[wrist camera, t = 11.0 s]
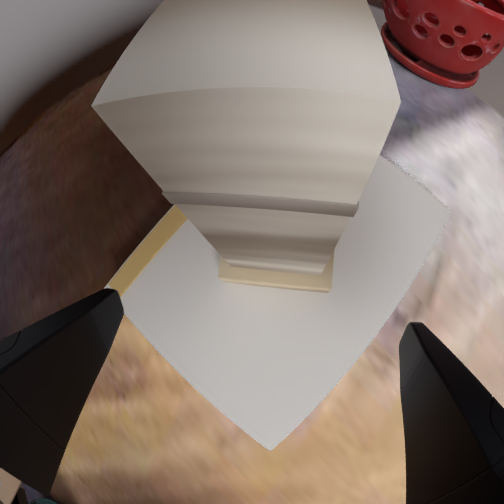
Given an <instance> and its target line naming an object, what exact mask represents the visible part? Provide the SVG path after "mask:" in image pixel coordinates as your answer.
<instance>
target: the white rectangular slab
mask: <svg viewBox="0 0 504 504" xmlns="http://www.w3.org/2000/svg"><path fill="white" fill-rule="evenodd" d="M451 212H452V211H451V210H450V209H449V208H448V207H447V206H445V205H444V204H443V203H442V202H441V201H440V200H438V199H437V198H436V197H435V196H434V195H432V194H431V193H430V192H429V191H428V190H426V189H425V188H424V187H423V186H421V185H420V184H419V183H418V182H416V181H415V180H414V179H412V178H411V177H410V176H409V175H407V174H406V173H405V172H403V171H402V170H401V169H399V168H398V167H397V166H395V165H394V164H392V163H391V162H390V161H388V160H387V159H385V158H384V157H383V156H381V155H379V157H378V159H377V161H376V164H375V166H374V168H373V170H372V173H371V175H370V177H369V179H368V181H367V184H366V186H365V188H364V190H363V192H362V194H361V196H360V199H359V208H358V210H357V212H356V214H355V215H354V217H350V219H349V221H348V223H347V225H346V227H345V229H344V231H343V233H342V235H341V237H340V239H339V241H338V243H337V245H336V247H335V249H334V261H333V276H332V288H331V290H330V291H329V292H328V293H323V292H312V291H302V290H292V289H282V288H272V287H263V286H254V285H245V284H237V283H228V282H224V281H222V280H221V279H220V278H218V273H219V267H220V260H221V255H220V254H219V253H218V252H217V251H216V249H215V248H214V247H213V246H212V245H211V244H210V243H209V242H208V241H207V239H206V238H205V237H204V236H203V235H202V234H201V233H200V232H199V231H198V229H197V228H196V227H195V226H194V225H193V224H192V223H191V222H190V220H189V219H188V218H187V217H186V216H185V215H184V214H183V213H182V211H181V210H180V209H179V208H178V207H177V206H176V205H175V204H174V205H173V206H172V208H171V209H170V210H169V211H168V212H167V213H166V214H165V215H164V216H163V218H162V219H161V220H160V221H159V222H158V223H157V224H156V225H155V227H154V228H153V229H152V230H151V231H150V232H149V234H148V235H147V236H146V237H145V238H144V239H143V241H142V242H141V243H140V244H139V245H138V246H137V248H136V249H135V250H134V251H133V252H132V254H131V255H130V256H129V257H128V259H127V260H126V261H125V262H124V263H123V265H122V266H121V267H120V268H119V270H118V271H117V272H116V274H115V275H114V276H113V277H112V279H111V280H110V281H109V282H108V284H107V285H106V286H105V288H111V289H115V290H117V291H118V293H119V295H120V299H121V302H122V305H123V308H124V314H125V315H126V316H127V317H128V319H129V320H130V321H131V322H132V323H133V324H134V326H135V327H136V328H137V329H138V330H139V331H140V332H141V333H142V335H143V336H144V337H145V338H146V339H147V340H148V341H149V342H150V343H151V345H152V346H153V347H154V348H155V349H156V350H157V351H158V352H159V353H160V354H161V355H162V356H163V357H164V358H165V359H166V360H167V361H168V362H169V363H170V364H171V365H172V366H173V367H174V368H175V369H176V370H177V371H178V372H179V373H180V374H181V375H182V376H183V377H184V378H185V379H186V380H187V381H188V382H189V383H190V384H191V385H192V386H193V387H194V388H195V389H196V390H197V391H198V392H199V393H200V394H202V395H203V396H204V397H205V398H206V399H207V400H208V401H209V402H210V403H211V404H213V405H214V406H215V407H216V408H217V409H218V410H219V411H221V412H222V413H223V414H224V415H225V416H226V417H228V418H229V419H230V420H231V421H232V422H234V423H235V424H236V425H237V426H238V427H240V428H241V429H242V430H243V431H245V432H246V433H247V434H248V435H250V436H251V437H252V438H253V439H255V440H256V441H257V442H259V443H260V444H261V445H263V446H264V447H265V448H267V449H268V450H269V451H271V450H273V449H274V448H275V447H276V446H277V445H278V444H279V443H280V442H281V441H282V440H283V439H284V438H286V437H287V436H288V435H289V434H290V433H291V432H292V431H293V430H294V429H295V428H296V427H297V426H298V425H299V424H300V423H301V422H302V421H303V420H304V419H305V418H306V417H307V416H308V415H309V414H310V413H311V412H312V411H313V410H314V409H315V408H316V407H317V405H318V404H319V403H320V402H321V401H322V400H323V399H324V398H325V397H326V396H327V395H328V394H329V392H330V391H331V390H332V389H333V388H334V387H335V386H336V385H337V383H338V382H339V381H340V380H341V379H342V378H343V376H344V375H345V374H346V373H347V372H348V371H349V369H350V368H351V367H352V366H353V364H354V363H355V362H356V361H357V360H358V358H359V357H360V356H361V355H362V353H363V352H364V351H365V349H366V348H367V347H368V346H369V344H370V343H371V342H372V340H373V339H374V338H375V336H376V335H377V334H378V332H379V331H380V330H381V328H382V327H383V325H384V324H385V323H386V321H387V320H388V318H389V317H390V316H391V314H392V313H393V311H394V310H395V308H396V307H397V305H398V304H399V302H400V301H401V299H402V298H403V296H404V295H405V293H406V292H407V290H408V289H409V287H410V286H411V284H412V282H413V281H414V279H415V278H416V276H417V274H418V273H419V271H420V269H421V268H422V266H423V264H424V263H425V261H426V259H427V257H428V256H429V254H430V252H431V250H432V249H433V247H434V245H435V243H436V241H437V240H438V238H439V236H440V234H441V232H442V230H443V228H444V226H445V224H446V222H447V220H448V218H449V216H450V214H451ZM105 288H104V289H105Z"/></svg>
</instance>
